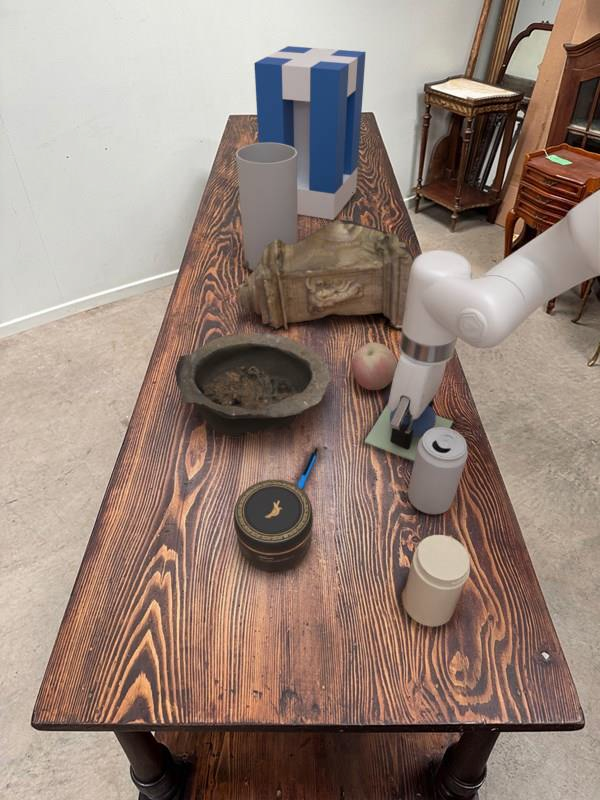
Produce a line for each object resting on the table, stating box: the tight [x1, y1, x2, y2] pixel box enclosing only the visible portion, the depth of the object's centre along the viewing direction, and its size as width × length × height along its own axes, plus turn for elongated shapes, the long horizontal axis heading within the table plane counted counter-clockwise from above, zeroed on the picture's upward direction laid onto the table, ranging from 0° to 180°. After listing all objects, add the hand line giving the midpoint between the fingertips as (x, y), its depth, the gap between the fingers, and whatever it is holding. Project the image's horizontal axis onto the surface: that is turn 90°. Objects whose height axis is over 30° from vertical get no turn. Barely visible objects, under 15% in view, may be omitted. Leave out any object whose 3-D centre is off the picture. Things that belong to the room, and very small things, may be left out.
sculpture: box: [235, 219, 416, 331], centre depth 107 cm, size 18×20×35 cm
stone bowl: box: [174, 332, 331, 439], centre depth 89 cm, size 25×25×9 cm
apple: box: [351, 341, 397, 391], centre depth 93 cm, size 8×8×8 cm
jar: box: [233, 479, 314, 573], centre depth 69 cm, size 10×10×8 cm
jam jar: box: [402, 534, 471, 628], centre depth 62 cm, size 6×6×10 cm
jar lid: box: [390, 405, 437, 438], centre depth 85 cm, size 7×7×2 cm
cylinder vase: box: [235, 142, 299, 272], centre depth 119 cm, size 12×12×25 cm
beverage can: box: [407, 427, 469, 515], centre depth 73 cm, size 6×6×12 cm
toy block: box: [253, 45, 367, 221], centre depth 142 cm, size 21×21×35 cm
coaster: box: [363, 403, 454, 462], centre depth 87 cm, size 11×11×1 cm
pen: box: [296, 447, 319, 490], centre depth 77 cm, size 1×19×1 cm, turn 160°
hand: (410, 429), depth 86 cm, fingers closed on jar lid, 6 cm apart
